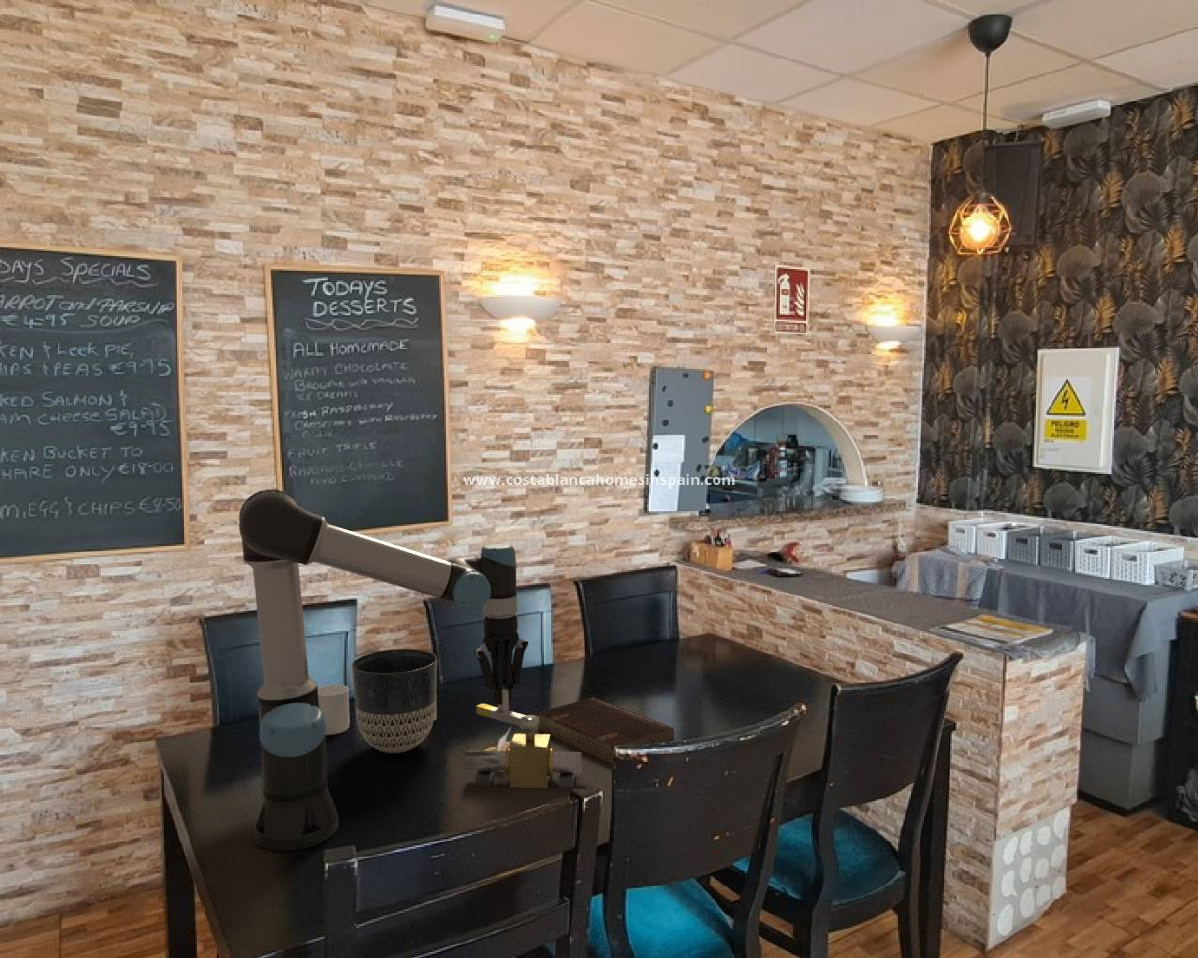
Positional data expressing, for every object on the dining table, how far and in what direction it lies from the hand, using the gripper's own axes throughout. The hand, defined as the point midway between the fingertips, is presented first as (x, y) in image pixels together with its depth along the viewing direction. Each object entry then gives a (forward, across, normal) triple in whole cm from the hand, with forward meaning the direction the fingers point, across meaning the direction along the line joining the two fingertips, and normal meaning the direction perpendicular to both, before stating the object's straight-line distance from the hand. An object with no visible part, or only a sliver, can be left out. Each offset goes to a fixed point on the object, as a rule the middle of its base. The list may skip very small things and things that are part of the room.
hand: (503, 716), depth 193 cm
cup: (+11, +24, -47) cm, 54 cm away
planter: (+12, +16, -24) cm, 31 cm away
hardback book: (+13, -28, 0) cm, 31 cm away
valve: (+11, 0, +9) cm, 15 cm away
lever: (0, +1, +4) cm, 4 cm away
